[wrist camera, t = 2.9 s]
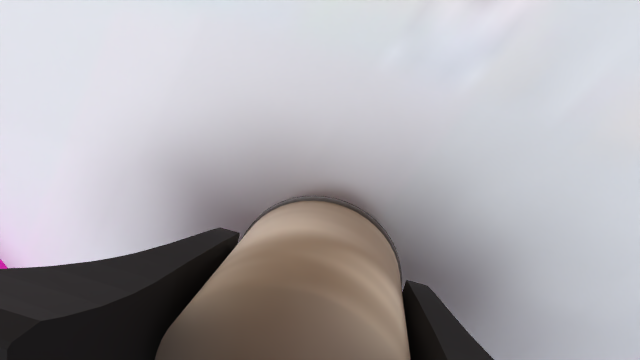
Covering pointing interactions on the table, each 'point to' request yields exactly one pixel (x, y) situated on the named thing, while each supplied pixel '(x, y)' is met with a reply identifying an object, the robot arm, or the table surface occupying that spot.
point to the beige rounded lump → (299, 291)
